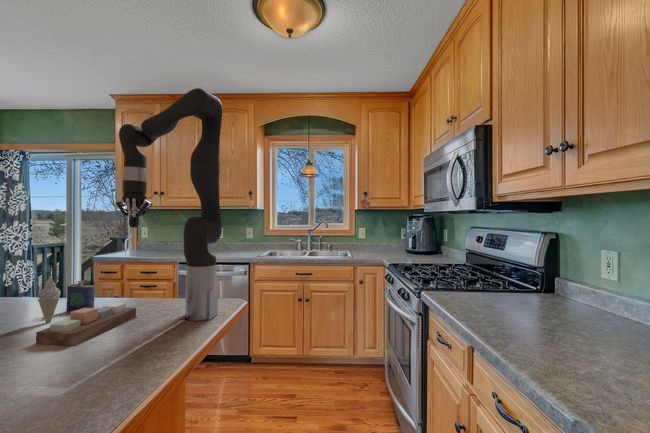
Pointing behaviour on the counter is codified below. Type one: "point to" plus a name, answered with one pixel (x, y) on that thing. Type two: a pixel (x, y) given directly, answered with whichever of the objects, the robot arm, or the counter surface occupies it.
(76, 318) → the terracotta key
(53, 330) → the sage key
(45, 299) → the ice cream cone
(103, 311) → the slate key
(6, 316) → the counter surface
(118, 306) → the ivory key
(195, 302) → the robot arm
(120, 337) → the counter surface
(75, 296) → the flask
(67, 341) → the brown wooden tray
